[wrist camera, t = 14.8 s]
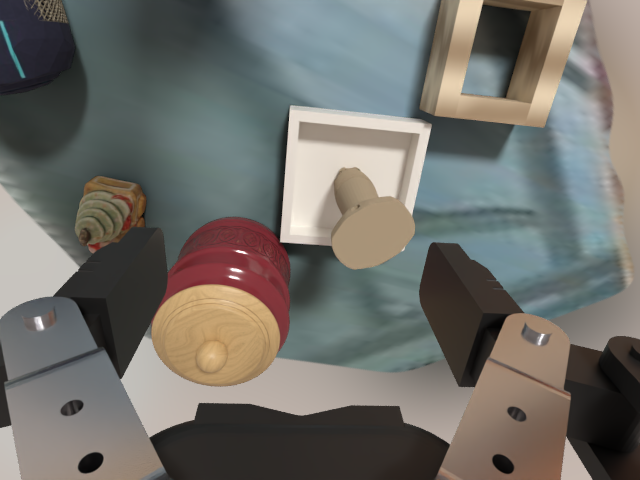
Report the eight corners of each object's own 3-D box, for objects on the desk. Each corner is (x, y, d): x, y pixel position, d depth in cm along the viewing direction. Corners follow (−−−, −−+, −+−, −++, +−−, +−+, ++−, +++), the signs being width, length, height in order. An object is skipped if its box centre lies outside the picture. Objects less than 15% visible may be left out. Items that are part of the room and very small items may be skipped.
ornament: (150, 243, 46) (115, 289, 37) (95, 237, 46) (46, 282, 37) (148, 178, 43) (110, 211, 34) (89, 170, 42) (34, 202, 33)
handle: (384, 181, 44) (425, 238, 30) (335, 211, 45) (353, 279, 31) (362, 144, 42) (395, 188, 28) (312, 177, 43) (320, 234, 29)
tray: (290, 105, 41) (289, 109, 37) (421, 119, 42) (432, 124, 39) (281, 229, 46) (280, 242, 43) (396, 238, 48) (403, 251, 45)
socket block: (446, -27, 37) (468, -38, 32) (557, -10, 38) (593, -19, 33) (419, 108, 42) (434, 115, 37) (517, 119, 43) (544, 127, 38)
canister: (280, 206, 45) (274, 289, 29) (297, 300, 51) (299, 412, 35) (168, 222, 45) (101, 313, 29) (198, 314, 51) (154, 432, 35)
